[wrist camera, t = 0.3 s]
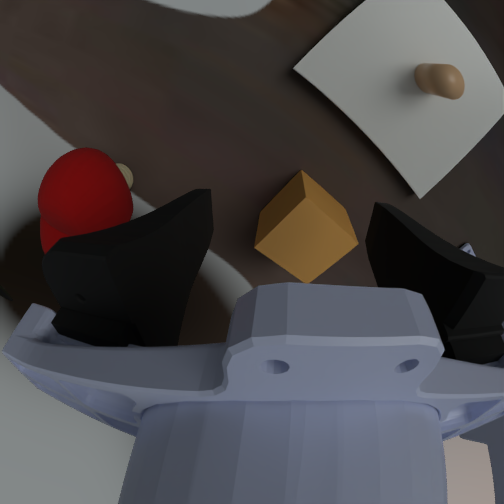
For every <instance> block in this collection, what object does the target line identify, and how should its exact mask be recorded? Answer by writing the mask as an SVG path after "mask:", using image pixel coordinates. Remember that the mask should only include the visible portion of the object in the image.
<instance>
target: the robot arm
mask: <svg viewBox="0 0 504 504" xmlns="http://www.w3.org/2000/svg"><path fill="white" fill-rule="evenodd" d="M213 230H214V229H213V215H212V201H211V189H195V190H193V191H190V192H188V193H186V194H184V195H183V196H181V197H179V198H177V199H175V200H173V201H172V202H170V203H168V204H166V205H164V206H162V207H160V208H158V209H156V210H154V211H152V212H150V213H148V214H146V215H143V216H141V217H139V218H136V219H134V220H131V221H128V222H125V223H122V224H119V225H116V226H113V227H110V228H107V229H103V230H99V231H95V232H91V233H86V234H81V235H75V236H70V237H63V238H60V239H59V240H58V241H57V242H56V243H55V244H54V245H53V246H52V247H51V248H50V249H49V251H48V252H47V253H46V254H45V255H44V257H43V259H42V269H43V273H44V276H45V279H46V281H47V283H48V285H49V287H50V289H51V290H52V292H53V294H54V296H55V298H56V299H57V301H58V303H59V304H60V306H61V308H60V310H59V311H58V313H56V312H54V311H53V310H52V309H50V308H47V307H44V306H41V305H38V304H35V303H33V304H32V305H31V306H30V308H29V309H28V311H27V312H26V313H25V315H24V316H23V318H22V319H21V321H20V322H19V324H18V325H17V327H16V328H15V330H14V332H13V333H12V335H11V336H10V338H9V340H8V341H7V343H6V345H5V346H4V348H3V350H2V352H3V354H4V355H5V356H6V357H7V358H8V360H10V362H11V363H12V364H13V365H14V366H15V367H16V368H17V369H18V370H19V371H20V372H21V373H22V374H23V375H24V376H25V377H26V378H27V379H28V380H29V381H30V382H31V383H33V384H34V385H35V386H36V387H37V388H38V389H40V390H41V391H43V392H45V393H46V394H48V395H50V396H52V397H54V398H55V399H57V400H59V401H61V402H63V403H64V404H66V405H68V406H70V407H72V408H74V409H76V410H78V411H80V412H81V413H84V414H85V415H87V416H89V417H91V418H94V419H96V420H98V421H100V422H102V423H104V424H106V425H109V426H111V427H113V428H116V429H118V430H120V431H123V432H125V433H128V434H130V435H133V436H135V437H136V440H135V443H134V446H133V450H132V453H131V457H130V460H129V464H128V467H127V471H126V475H125V478H124V482H123V486H122V490H121V494H120V498H119V503H118V504H447V479H446V467H445V456H444V448H443V441H445V440H448V439H450V438H453V437H456V436H458V435H459V436H460V437H461V438H463V439H466V440H471V441H475V442H480V443H484V444H487V445H488V450H489V455H490V461H491V467H492V474H493V482H494V491H495V504H504V268H503V267H501V266H498V265H495V264H492V263H489V262H487V261H485V260H482V259H480V258H477V257H476V256H475V254H474V252H473V250H472V248H471V246H470V244H469V243H466V244H464V245H463V246H462V247H461V248H460V249H459V248H457V247H455V246H453V245H452V244H450V243H448V242H447V241H445V240H443V239H441V238H440V237H438V236H437V235H435V234H434V233H432V232H431V231H429V230H428V229H426V228H425V227H423V226H422V225H420V224H419V223H418V222H416V221H415V220H413V219H412V218H410V217H409V216H408V215H406V214H405V213H403V212H402V211H400V210H399V209H397V208H395V207H394V206H392V205H390V204H387V203H379V202H375V204H374V209H373V213H372V217H371V221H370V225H369V228H368V232H367V236H366V239H365V242H366V248H367V253H368V258H369V261H370V264H371V267H372V270H373V273H374V276H375V279H376V282H377V285H378V287H357V286H338V285H321V284H305V283H291V282H286V283H278V284H270V285H261V286H257V287H256V288H254V289H252V290H251V291H249V292H248V293H246V294H244V295H243V296H241V297H240V298H238V299H237V302H236V305H235V308H234V310H233V313H232V317H231V321H230V326H229V331H228V335H227V340H226V343H215V344H201V345H184V346H177V345H178V340H179V335H180V330H181V326H182V321H183V317H184V313H185V308H186V305H187V302H188V298H189V294H190V291H191V288H192V285H193V283H194V280H195V278H196V276H197V273H198V271H199V269H200V267H201V264H202V262H203V260H204V257H205V255H206V253H207V250H208V248H209V245H210V241H211V237H212V234H213Z"/></svg>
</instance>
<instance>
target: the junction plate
mask: <svg viewBox="0 0 504 504" xmlns="http://www.w3.org/2000/svg"><path fill="white" fill-rule="evenodd" d="M293 69H294V70H295V71H296V72H297V73H299V74H300V75H301V76H302V77H304V78H305V79H306V80H307V81H309V82H310V83H311V84H312V85H313V86H315V87H316V88H317V89H318V90H319V91H320V92H322V93H323V94H324V95H325V96H326V97H327V98H328V99H329V100H331V101H332V102H333V103H334V104H335V105H336V106H337V107H338V108H339V109H340V110H341V111H342V112H343V113H345V114H346V115H347V116H348V117H349V118H350V119H351V120H352V121H353V122H354V123H355V124H356V125H357V126H358V127H359V128H360V129H361V130H362V131H363V132H364V134H365V135H366V136H367V137H368V138H369V139H370V140H371V141H372V142H373V143H374V144H375V145H376V146H377V148H378V149H379V150H380V151H381V152H382V153H383V154H384V155H385V157H386V158H387V159H388V160H389V161H390V162H391V164H392V165H393V166H394V167H395V168H396V170H397V171H398V172H399V173H400V175H401V176H402V177H403V178H404V180H405V181H406V182H407V183H408V185H409V186H410V187H411V189H412V190H413V191H414V193H415V194H416V195H417V196H418V197H419V198H420V199H421V198H422V197H423V196H424V195H425V194H426V193H427V192H428V191H429V190H430V189H431V188H432V187H433V186H435V185H436V184H437V183H438V182H439V181H440V180H441V179H442V178H443V177H444V176H445V175H446V174H447V173H448V172H449V171H450V170H451V169H452V168H453V167H454V166H455V165H456V164H457V163H458V162H459V161H460V160H461V159H462V158H463V157H464V156H465V155H466V154H467V153H468V152H469V151H470V150H471V149H472V148H473V147H474V146H475V145H476V144H477V143H478V142H479V141H480V140H481V139H482V137H483V136H484V135H485V134H486V133H487V132H488V131H489V130H490V129H491V128H492V127H493V125H494V124H495V123H496V122H497V121H498V120H499V119H500V118H501V116H502V115H503V114H504V87H503V85H502V83H501V81H500V79H499V78H498V76H497V74H496V72H495V70H494V69H493V67H492V65H491V64H490V62H489V60H488V59H487V57H486V55H485V54H484V52H483V51H482V49H481V48H480V46H479V45H478V43H477V42H476V40H475V39H474V37H473V36H472V35H471V33H470V32H469V30H468V29H467V28H466V26H465V25H464V24H463V23H462V21H461V20H460V19H459V17H458V16H457V15H456V14H455V13H454V11H453V10H452V9H451V8H450V7H449V5H448V4H447V3H446V2H445V1H444V0H365V1H364V2H363V3H362V4H361V5H359V6H358V7H357V8H356V9H355V10H354V11H352V12H351V13H350V14H349V15H348V16H347V17H346V18H344V19H343V20H342V21H341V22H340V23H339V24H338V25H337V26H336V27H334V28H333V29H332V30H331V31H330V32H329V33H328V34H327V35H326V36H325V37H324V38H323V39H322V40H321V41H320V42H319V43H318V44H316V45H315V46H314V47H313V48H312V49H311V50H310V51H309V52H308V53H307V54H306V55H305V56H304V57H303V58H302V60H301V61H300V62H299V63H298V64H297V65H296V66H295V67H294V68H293Z"/></svg>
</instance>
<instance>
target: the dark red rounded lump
mask: <svg viewBox="0 0 504 504" xmlns="http://www.w3.org/2000/svg"><path fill="white" fill-rule="evenodd" d="M132 184H133V175H132V173H131V171H130V169H129V168H128V167H127V166H125V165H123V164H115V162H114V161H113V160H112V159H111V158H110V157H109V156H108V155H106V154H105V153H103V152H101V151H100V150H97V149H92V148H80V149H75V150H72V151H70V152H68V153H66V154H64V155H63V156H61V157H60V158H59V159H57V160H56V161H55V162H54V164H53V165H52V166H51V167H50V168H49V169H48V171H47V172H46V174H45V176H44V178H43V180H42V183H41V186H40V189H39V193H38V207H39V210H40V213H41V220H40V235H41V243H42V247H43V250H44V253H45V254H46V253H47V252H48V251H49V249H50V248H51V247H52V246H53V245H54V244H55V243H56V242H57V241H58V240H59V239H60V238H63V237H70V236H75V235H81V234H86V233H91V232H95V231H99V230H103V229H107V228H110V227H113V226H116V225H119V224H122V223H125V222H128V221H130V219H131V216H132V213H133V201H132V196H131V192H130V188H131V186H132Z"/></svg>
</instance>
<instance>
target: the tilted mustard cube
mask: <svg viewBox="0 0 504 504" xmlns="http://www.w3.org/2000/svg"><path fill="white" fill-rule="evenodd" d="M356 245H358V241H357V238H356V236H355V233H354V230H353V228H352V225H351V222H350V220H349V217H348V215H347V212H346V210H345V208H344V207H343V206H342V205H341V204H339V203H338V202H337V201H336V200H335V199H334V198H333V197H332V196H331V195H330V194H329V193H327V192H326V191H325V190H324V189H323V188H322V187H321V186H320V185H319V184H317V183H316V182H315V181H314V180H313V179H312V178H311V177H309V176H308V175H307V174H306V173H305V172H304V171H302V170H300V171H299V172H298V173H297V174H296V175H295V176H294V177H293V178H292V179H291V180H290V182H289V183H288V184H287V185H286V186H285V187H284V188H283V189H282V190H281V191H280V192H279V193H278V194H277V195H276V196H275V197H274V198H273V199H272V200H271V201H270V202H269V203H268V204H267V205H266V207H265V208H264V209H263V210H262V211H261V212H260V215H259V221H258V228H257V234H256V240H255V246H254V248H255V249H257V250H258V251H260V252H261V253H262V254H264V255H265V256H267V257H268V258H270V259H271V260H273V261H274V262H275V263H277V264H278V265H280V266H281V267H283V268H284V269H285V270H287V271H288V272H290V273H291V274H293V275H294V276H295V277H297V278H298V279H300V280H301V281H303V282H304V283H305V284H308V283H310V282H311V281H312V280H314V279H315V278H316V277H317V276H319V275H320V274H321V273H323V272H324V271H325V270H326V269H328V268H329V267H330V266H332V265H333V264H334V263H335V262H337V261H338V260H339V259H340V258H342V257H343V256H344V255H345V254H347V253H348V252H349V251H350V250H351V249H353V248H354V247H355V246H356Z"/></svg>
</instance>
